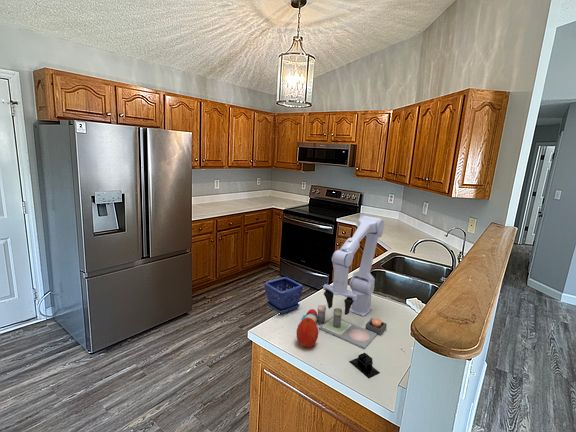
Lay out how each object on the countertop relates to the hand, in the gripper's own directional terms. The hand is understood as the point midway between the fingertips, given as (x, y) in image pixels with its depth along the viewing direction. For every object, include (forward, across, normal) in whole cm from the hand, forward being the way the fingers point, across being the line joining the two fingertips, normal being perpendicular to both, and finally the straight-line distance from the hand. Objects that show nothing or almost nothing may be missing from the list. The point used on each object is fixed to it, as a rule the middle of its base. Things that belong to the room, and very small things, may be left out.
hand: (338, 310), depth 126 cm
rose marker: (+8, -7, -1) cm, 10 cm away
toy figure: (+8, -9, -6) cm, 14 cm away
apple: (+8, -3, -18) cm, 19 cm away
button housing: (+8, +13, +9) cm, 18 cm away
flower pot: (+8, -27, -3) cm, 28 cm away
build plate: (+8, +19, -15) cm, 26 cm away
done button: (+6, +13, +9) cm, 17 cm away
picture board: (+8, +5, 0) cm, 9 cm away
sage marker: (+7, 0, 0) cm, 7 cm away
